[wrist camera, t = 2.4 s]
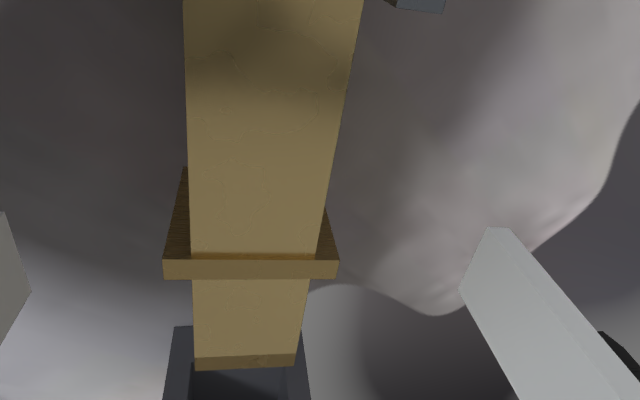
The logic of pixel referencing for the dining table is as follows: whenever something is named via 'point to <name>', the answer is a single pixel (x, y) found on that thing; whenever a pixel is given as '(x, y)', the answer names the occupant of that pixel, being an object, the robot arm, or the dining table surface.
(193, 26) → the bar
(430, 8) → the sleeve
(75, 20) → the dining table surface
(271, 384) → the socket
